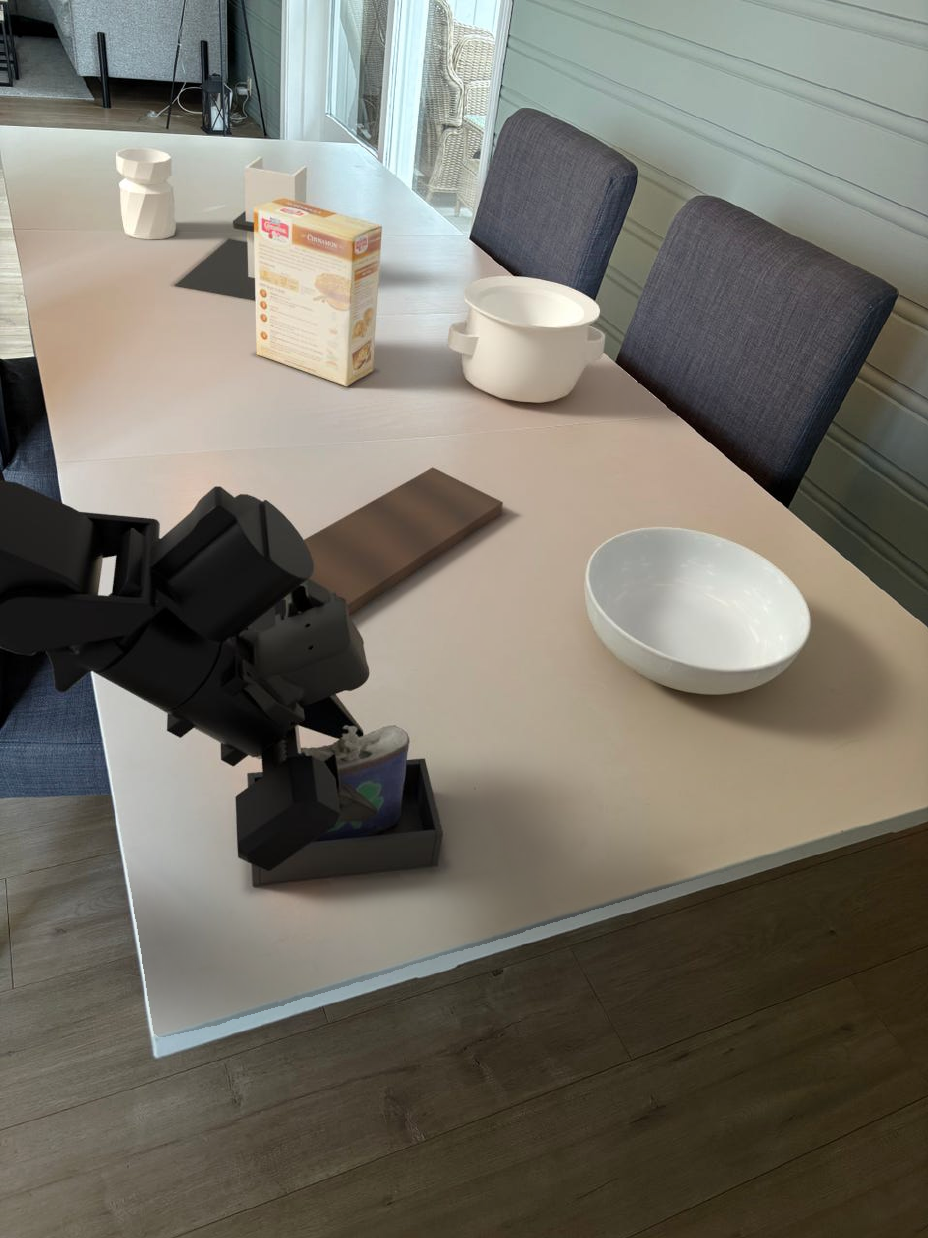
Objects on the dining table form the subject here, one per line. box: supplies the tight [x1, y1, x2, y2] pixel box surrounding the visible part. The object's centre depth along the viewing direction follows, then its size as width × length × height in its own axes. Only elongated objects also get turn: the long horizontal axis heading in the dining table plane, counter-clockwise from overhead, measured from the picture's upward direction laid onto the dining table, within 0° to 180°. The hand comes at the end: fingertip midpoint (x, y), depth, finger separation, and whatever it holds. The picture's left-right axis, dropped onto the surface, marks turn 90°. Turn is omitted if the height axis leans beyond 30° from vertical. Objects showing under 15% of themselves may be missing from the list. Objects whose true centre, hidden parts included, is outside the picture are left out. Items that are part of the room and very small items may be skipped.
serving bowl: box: [584, 526, 812, 695], centre depth 86 cm, size 21×21×7 cm
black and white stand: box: [174, 156, 308, 301], centre depth 144 cm, size 25×24×16 cm
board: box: [282, 466, 504, 616], centre depth 91 cm, size 40×10×2 cm, turn 143°
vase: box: [115, 147, 177, 240], centre depth 153 cm, size 9×9×12 cm
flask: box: [301, 725, 410, 842], centre depth 63 cm, size 9×3×11 cm, turn 117°
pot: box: [446, 275, 607, 404], centre depth 124 cm, size 22×17×12 cm
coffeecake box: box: [254, 198, 383, 387], centre depth 120 cm, size 15×7×20 cm, turn 63°
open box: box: [246, 757, 444, 887], centre depth 65 cm, size 13×7×4 cm, turn 102°
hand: (365, 774), depth 63 cm, fingers open, 7 cm apart
